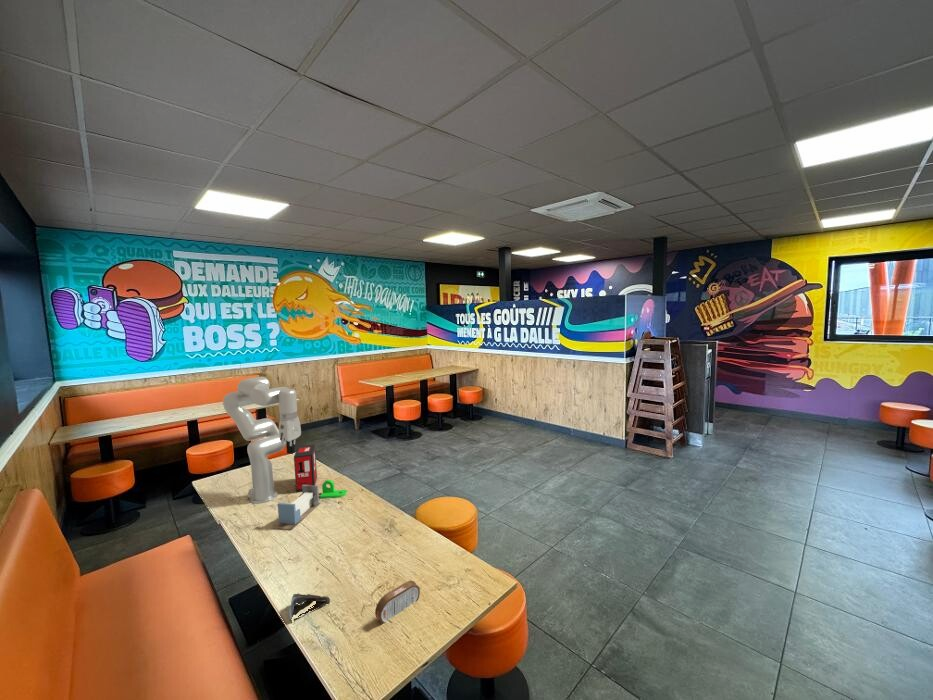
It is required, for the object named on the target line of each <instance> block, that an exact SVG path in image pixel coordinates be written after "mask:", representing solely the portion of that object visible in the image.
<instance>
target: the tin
mask: <svg viewBox="0 0 933 700" xmlns="http://www.w3.org/2000/svg"><path fill="white" fill-rule="evenodd" d="M420 593H421V589H420V587H419V585H418V584H417V583H416V582H415V581H414V580H408V581H405V582H403V583H402V584H401V585H399V586H396V587H395V588H394V589H392V590H390V591H388V592H387V593H385V594H384V595H383V596H382V597H381V598H380V599H379V601H378V603H377V604H376V607H375V609H374V610H375V611H374V614H375V617H376V619H378V621H380V623H381V624H385V623H386V622H387V621H389V620H390V619H391V618H394V617H395V616H396V615H398V614H400V613H401V612H403V611H404V610H405V609H407V608H409V607H410V606H412V605H413V604H414V603H416V602H418V601H419V599H420ZM399 612H400V613H399Z"/></svg>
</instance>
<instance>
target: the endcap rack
mask: <svg viewBox="0 0 933 700" xmlns="http://www.w3.org/2000/svg"><path fill="white" fill-rule="evenodd" d="M305 492H313V497H312V498H313V505H312V506H311V507H310V508H309V509H308V510H307V511H306V512H304V513H303V514H302V515H301V520H300V521H299V522H297V523H296V524H284V523H279V522H277V523H276V524H275V525H274V526H273V527H272V530H280V531H281V530H283V531H292V530H293V529H294V528H295V527H297V526H298V525H299V524H300V523H302V521H303V520H304V519H306V517H308V516H309V515H310V514H311V513H312V512H313V511H314V510H315V509H317V507H319V506H320V505H321V504H322V503H321V502H320V495H319V485H316V484H315V485H302V493H301V494H300V495H299V496H298V498H299V497H300V496H301V495H303V494H304V493H305Z"/></svg>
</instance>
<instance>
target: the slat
mask: <svg viewBox="0 0 933 700" xmlns="http://www.w3.org/2000/svg"><path fill="white" fill-rule="evenodd" d="M300 495H301V494H300ZM300 495H299V496H300ZM299 496H298V498H297V499H295V500H294V501H292V502H291V503H290V504H295V508H296V511H297V510H298V509H300V516H301V515H302V514H303V513H304V512H306V511H307V510H308V509H309V508H310V507H311V506H312V505H313V498H312V497H313V492H305V493H304V494H303V495H301V496H300V497H299Z"/></svg>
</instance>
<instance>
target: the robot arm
mask: <svg viewBox="0 0 933 700" xmlns="http://www.w3.org/2000/svg"><path fill="white" fill-rule="evenodd" d="M270 386H271V383H270V381H269V379H268V378H267V377H265V376H255V377H251V378H250V377H249V378H245V379H242V380H240V381H239V382H238V384H237V390H236V391H232V392H228V393H227V394H225V395H224V397H223V399H222V405H223V408H224V410H225V413H226V414H227V415H228V416H229V417H230V418H231V419H232V420H233V421H234V423H235V425H236V427H237V428H238V430H239V432H240V434H241V435H242V437H243V439H244V440H246V441H248V442H249V441H251V442H249V444H248V445H247V449H246V450H247V454H248V458H249V463H250V469H251V470H250V472H251V483H252V488H250V489H248V492H247V495H248V496H251V497H250V499H249V500H250V503H251V504H255V505H258V504H259V505H260V504H265V503H268V502H272V501H273V500H275V499H276V498H277V497H278V495H279V494H278V493H279V492H278V491H276V490H275V484H274V483H275V482H274V470H273V463H272V461H271V460H270V459H269V458H268V456H270V455H273V454H277V453H279V452H281V451H282V450H284V449H285V448H286V454H288V455H293V454H295V453H296V448H295V447H296V442H297V441H296V440H297V439H298V438H299V437H300V436H301V435H302V428H301V422H300V417H299V416H298V400H297V390H295V389H294V388H289V387H287V386H279V387H272V388H270ZM277 404H278V409H279V411H278V412H279V424H278V425H279V426H277V424H276V422H275V421H273V420H272V419H271V418H270V417H269V418H268V417H267V418H261V419H256V418H255V417H254V415H253V414H252V413H251V412H250V411H249V410H248V409H246V408H244V407H245V406H246V407H247V406H250V405H258V406H261V407H268V406H271V405H277ZM285 446H286V447H285Z"/></svg>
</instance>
